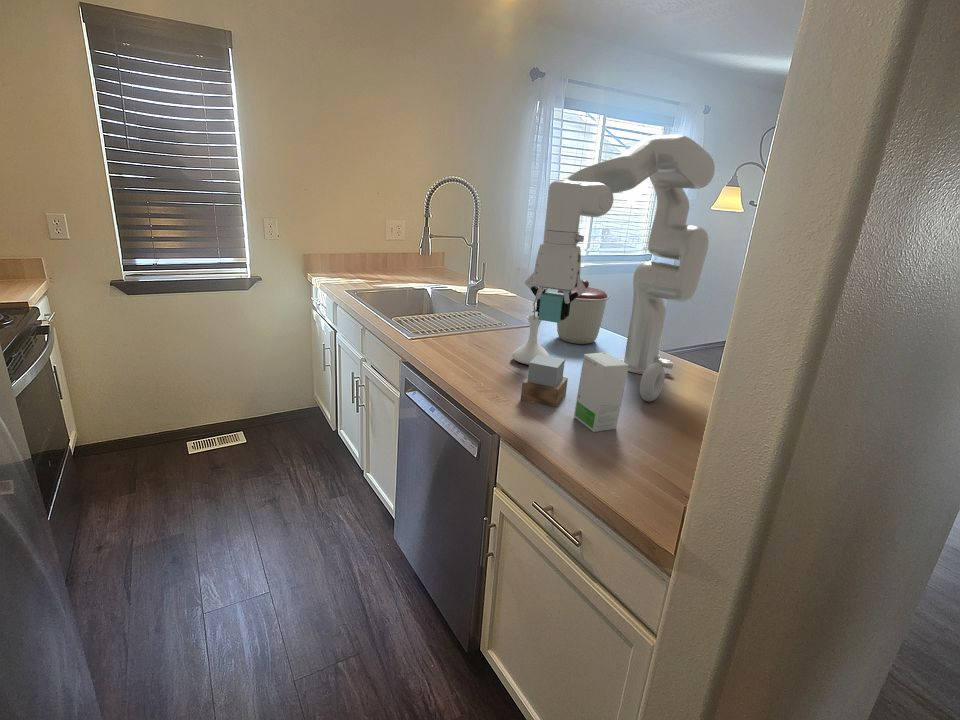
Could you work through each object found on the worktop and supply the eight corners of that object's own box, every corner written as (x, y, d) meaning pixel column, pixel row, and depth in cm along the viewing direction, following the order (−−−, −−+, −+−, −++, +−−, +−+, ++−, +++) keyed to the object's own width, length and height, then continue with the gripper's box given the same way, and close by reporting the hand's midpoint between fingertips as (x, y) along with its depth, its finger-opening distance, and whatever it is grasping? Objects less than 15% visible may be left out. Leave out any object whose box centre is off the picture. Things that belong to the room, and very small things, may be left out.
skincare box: (573, 417, 119) (581, 353, 114) (596, 414, 122) (605, 351, 117) (594, 433, 112) (604, 365, 107) (619, 429, 115) (630, 363, 110)
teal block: (564, 318, 124) (567, 294, 122) (558, 323, 120) (561, 297, 118) (544, 315, 126) (547, 291, 124) (538, 319, 122) (540, 294, 120)
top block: (562, 378, 130) (564, 359, 128) (555, 387, 123) (557, 367, 122) (535, 373, 132) (537, 354, 130) (527, 381, 126) (529, 362, 124)
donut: (650, 393, 136) (656, 357, 133) (662, 397, 134) (669, 360, 131) (634, 403, 129) (640, 366, 126) (647, 408, 127) (654, 369, 124)
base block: (565, 396, 132) (567, 377, 130) (555, 408, 124) (558, 389, 122) (532, 389, 135) (533, 371, 133) (520, 400, 127) (522, 382, 126)
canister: (539, 336, 182) (545, 276, 175) (575, 330, 192) (582, 274, 186) (577, 351, 168) (585, 286, 162) (613, 343, 179) (622, 283, 172)
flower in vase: (548, 370, 149) (557, 284, 141) (509, 365, 151) (516, 280, 142) (551, 356, 161) (560, 276, 153) (515, 352, 163) (522, 273, 155)
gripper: (601, 241, 117) (591, 319, 123) (530, 234, 123) (523, 308, 129) (594, 244, 110) (583, 326, 116) (519, 236, 117) (512, 314, 123)
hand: (552, 316), depth 123 cm, fingers closed on teal block, 5 cm apart
